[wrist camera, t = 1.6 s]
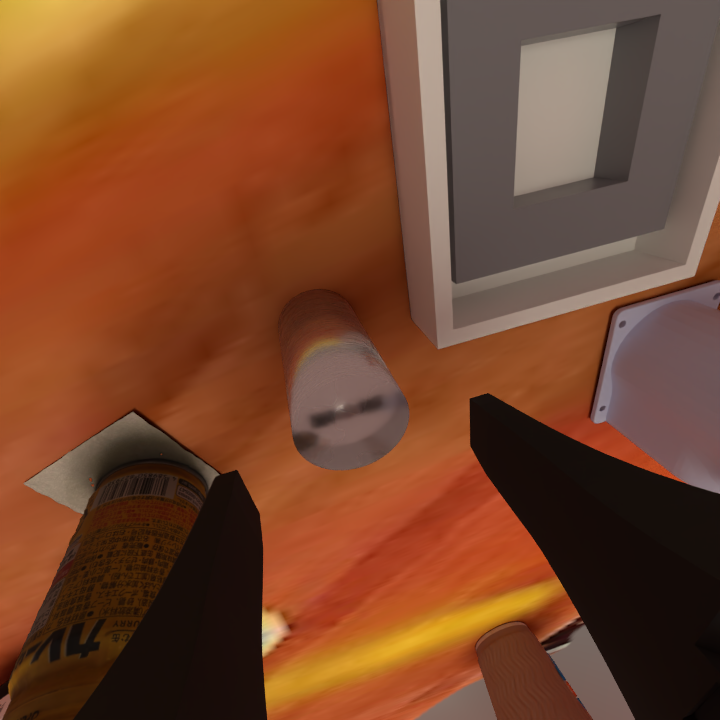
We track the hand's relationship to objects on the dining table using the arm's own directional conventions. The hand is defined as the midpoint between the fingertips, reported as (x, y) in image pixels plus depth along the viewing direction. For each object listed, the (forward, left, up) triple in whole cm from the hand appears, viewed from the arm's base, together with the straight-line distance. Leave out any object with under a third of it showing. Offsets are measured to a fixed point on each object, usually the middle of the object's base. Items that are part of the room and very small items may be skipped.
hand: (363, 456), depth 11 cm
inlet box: (+7, -12, -9) cm, 17 cm away
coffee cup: (-47, -12, -10) cm, 49 cm away
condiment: (-7, +12, -10) cm, 17 cm away
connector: (0, 0, -9) cm, 9 cm away
